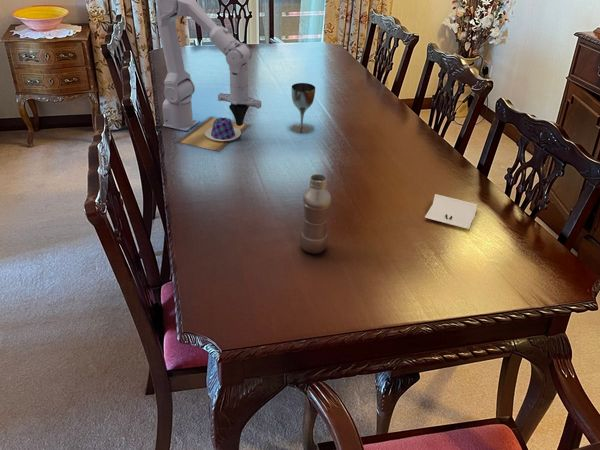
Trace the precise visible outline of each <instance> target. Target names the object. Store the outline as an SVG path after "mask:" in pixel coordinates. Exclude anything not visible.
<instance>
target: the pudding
mask: <svg viewBox="0 0 600 450" xmlns="http://www.w3.org/2000/svg"><path fill="white" fill-rule="evenodd" d="M232 122H233V121H232V120H231V119H230V118H228V117H218V118H216V119H215V121H214V123H213V127H212V128H209V129H208V130H206V132H205V135H206V136H207V137H208V138H210V139H212V140H216V141H229V140H231V141H233V140H235V139H238V138H240V137H241V135H242V132H241V131H240V130H239V129H237V128H235V127H233V125H232Z"/></svg>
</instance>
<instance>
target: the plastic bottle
mask: <svg viewBox="0 0 600 450" xmlns="http://www.w3.org/2000/svg"><path fill="white" fill-rule="evenodd" d="M309 178H310V179H309V187H308V188H307V189H306V190H305V192H304V194H303V196H302V200H303V203H302V204H303V211H304V213H303V214H304V215H303V225H302V231H301V233H300V239H299V241H300V246H301V248H302V249H303V251H305V253H308V254H314V255H315V254H320V253H322V252H324V251H325V249H326V248H327V245H328V234H327V233H328V232H327V222H328V215H329V211H330V208H331V204H332V195H331V193H330V192H329V190H328V189H327V186H328V182H327V181H328V178H327V177H326V176H325V175H324V174H319V173H316V174H312V175H311V176H310V177H309Z"/></svg>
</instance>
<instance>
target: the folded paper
mask: <svg viewBox="0 0 600 450" xmlns="http://www.w3.org/2000/svg"><path fill="white" fill-rule="evenodd" d="M477 207H478V204H477V203H474V202H470V201H465V200H461V199H458V198H454V197H450V196H445V195H441V194H437V193H434V196H433V201H432V204H431V206H430V208H429V210H428V211H427V213H426V214H425V215H424V218H425V219H429V220H433V221H436V222H439V223H440V222H441V223H444V224H447V225H452V226H455V227H460V228H464V229H466V230H470V228H471V225H472V222H473V220H474V218H475V217H476V212H477Z"/></svg>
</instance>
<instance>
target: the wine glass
mask: <svg viewBox="0 0 600 450" xmlns="http://www.w3.org/2000/svg"><path fill="white" fill-rule="evenodd" d="M315 96H316V86H315V85H314V84H312V83H307V82H298V83H294V84H292V85H291V100H292V104H293V105H294V107H296V109H297V110H298V112H299V115H300V123H298V124H293V125H292V126H291V128H290V129H291V131H293V132H295V133H298V134H306V133H310V132H311V131H312V129H313V128H312V127H311V126H310V125H307V124H304V116H305V114H306V111H307V110H308V109H309V108H310V107H312V105H313V103H314V100H315Z"/></svg>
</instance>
